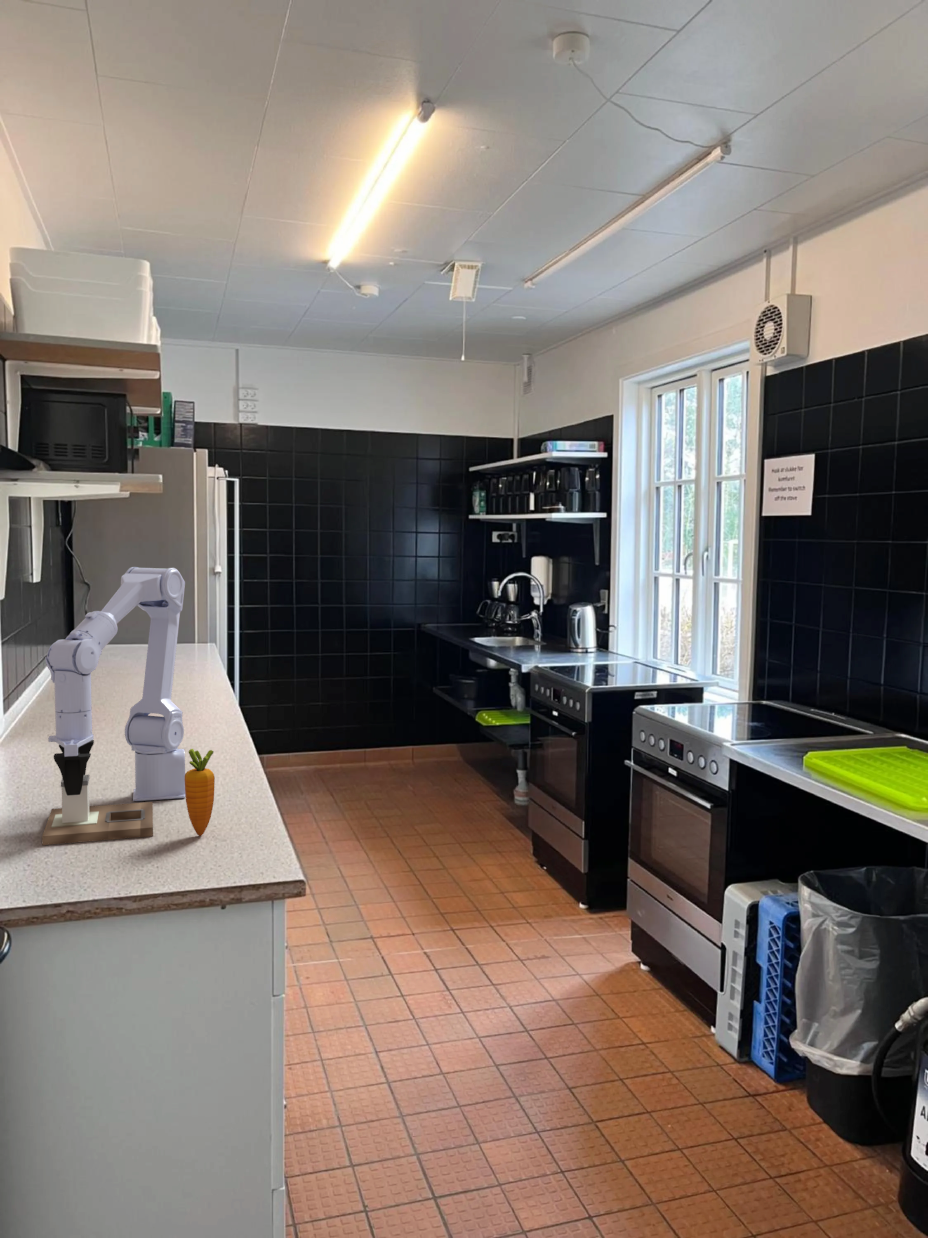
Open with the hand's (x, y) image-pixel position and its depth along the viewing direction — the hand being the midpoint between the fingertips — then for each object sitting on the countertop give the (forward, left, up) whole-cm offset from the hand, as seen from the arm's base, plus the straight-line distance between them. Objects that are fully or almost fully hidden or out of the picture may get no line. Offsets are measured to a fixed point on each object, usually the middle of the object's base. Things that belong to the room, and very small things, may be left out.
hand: (75, 788), depth 160 cm
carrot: (-20, +10, -7) cm, 23 cm away
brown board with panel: (-4, 0, -7) cm, 8 cm away
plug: (0, 0, -5) cm, 5 cm away
